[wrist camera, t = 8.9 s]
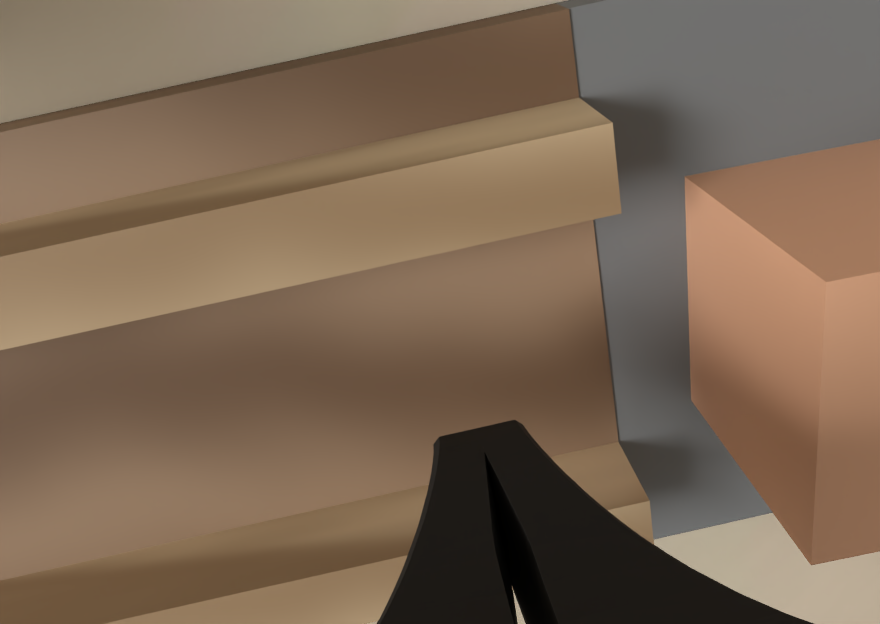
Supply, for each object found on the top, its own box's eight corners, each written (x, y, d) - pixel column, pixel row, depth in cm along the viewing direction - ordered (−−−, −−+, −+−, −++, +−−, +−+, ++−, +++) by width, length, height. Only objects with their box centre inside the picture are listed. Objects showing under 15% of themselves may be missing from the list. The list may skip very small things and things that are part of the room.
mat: (935, 446, 20) (962, 469, 19) (617, 517, 20) (629, 544, 19) (988, -92, 15) (1027, -92, 14) (555, 3, 15) (568, 8, 14)
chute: (617, 517, 20) (660, 611, 17) (-30, 663, 20) (-88, 781, 17) (555, 3, 15) (603, 21, 12) (-329, 195, 14) (-484, 257, 12)
